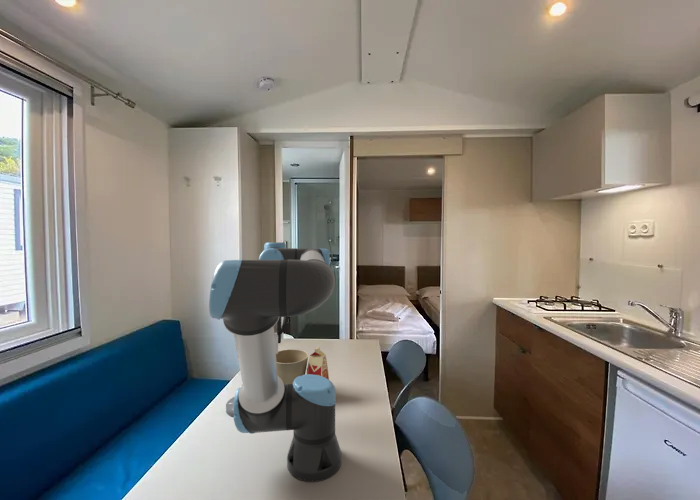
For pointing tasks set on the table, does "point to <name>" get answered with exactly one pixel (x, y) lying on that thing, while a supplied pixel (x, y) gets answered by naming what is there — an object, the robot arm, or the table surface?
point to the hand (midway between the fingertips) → (275, 352)
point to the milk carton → (318, 364)
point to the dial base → (230, 407)
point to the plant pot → (291, 364)
